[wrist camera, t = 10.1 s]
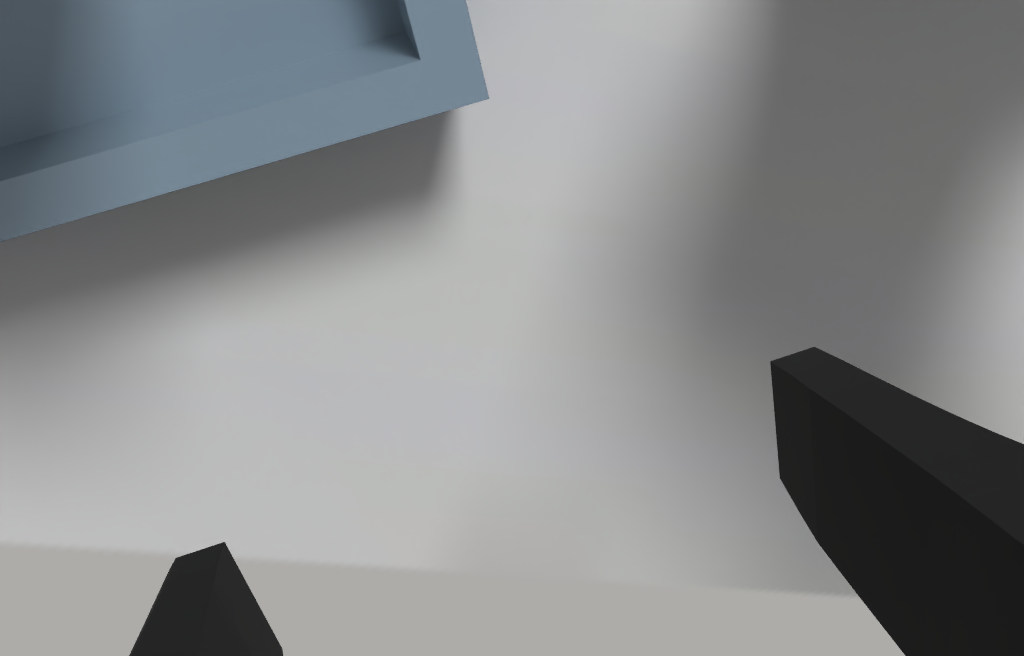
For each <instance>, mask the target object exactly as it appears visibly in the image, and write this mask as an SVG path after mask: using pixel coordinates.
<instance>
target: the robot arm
mask: <svg viewBox="0 0 1024 656" xmlns="http://www.w3.org/2000/svg"><path fill="white" fill-rule="evenodd" d="M770 363H771V375H772V387H773V399H774V411H775V423H776V435H777V447H778V459H779V472H780V479H781V481H782V482H783V484H784V486H785V488H786V489H787V491H788V493H789V495H790V496H791V498H792V500H793V502H794V503H795V505H796V507H797V509H798V510H799V512H800V514H801V516H802V517H803V519H804V520H805V522H806V524H807V525H808V527H809V529H810V530H811V532H812V534H813V535H814V537H815V539H816V540H817V542H818V543H819V545H820V546H821V547H822V549H823V550H824V551H825V553H826V554H827V555H828V557H829V558H830V559H831V560H832V562H833V563H834V564H835V566H836V567H837V568H838V570H839V571H840V572H841V573H842V575H843V576H844V577H845V579H846V580H847V581H848V583H849V584H850V585H851V586H852V588H853V589H854V590H855V592H856V593H857V594H858V596H859V597H860V598H861V599H862V600H863V602H864V603H865V604H866V606H867V607H868V608H869V610H870V611H871V612H872V613H873V615H874V616H875V617H876V619H877V620H878V621H879V622H880V624H881V625H882V626H883V627H884V629H885V630H886V631H887V632H888V634H889V635H890V636H891V637H892V639H893V640H894V642H895V643H896V644H897V645H898V647H899V648H900V649H901V650H902V652H903V653H904V654H905V655H906V656H1024V444H1022V443H1019V442H1017V441H1014V440H1012V439H1009V438H1007V437H1004V436H1002V435H999V434H997V433H995V432H992V431H990V430H988V429H985V428H983V427H981V426H979V425H976V424H974V423H972V422H969V421H967V420H965V419H963V418H960V417H958V416H956V415H954V414H952V413H949V412H947V411H945V410H943V409H941V408H939V407H937V406H934V405H932V404H930V403H928V402H926V401H924V400H922V399H920V398H918V397H916V396H913V395H911V394H909V393H907V392H905V391H903V390H901V389H899V388H897V387H895V386H893V385H891V384H889V383H887V382H885V381H883V380H881V379H879V378H877V377H875V376H873V375H871V374H869V373H867V372H865V371H863V370H861V369H859V368H857V367H855V366H853V365H851V364H849V363H847V362H845V361H843V360H841V359H839V358H837V357H835V356H832V355H830V354H828V353H826V352H824V351H822V350H820V349H818V348H815V347H813V348H810V349H807V350H804V351H801V352H797V353H794V354H791V355H788V356H785V357H782V358H779V359H776V360H773V361H770ZM129 656H283V651H282V647H281V646H280V644H279V642H278V640H277V638H276V637H275V634H274V633H273V631H272V629H271V627H270V625H269V624H268V622H267V620H266V618H265V616H264V614H263V612H262V611H261V609H260V607H259V605H258V603H257V602H256V599H255V598H254V596H253V594H252V592H251V590H250V588H249V586H248V585H247V583H246V581H245V579H244V577H243V575H242V574H241V572H240V570H239V568H238V566H237V564H236V562H235V561H234V559H233V557H232V555H231V553H230V551H229V549H228V548H227V546H226V544H225V542H223V543H220V544H217V545H214V546H211V547H208V548H205V549H202V550H199V551H196V552H193V553H190V554H187V555H184V556H181V557H178V558H176V559H175V561H174V563H173V564H172V566H171V568H170V570H169V572H168V574H167V576H166V578H165V580H164V582H163V585H162V587H161V589H160V591H159V593H158V596H157V598H156V600H155V602H154V604H153V606H152V609H151V611H150V613H149V615H148V617H147V619H146V621H145V624H144V626H143V628H142V630H141V632H140V634H139V636H138V638H137V641H136V643H135V645H134V647H133V649H132V651H131V653H130V655H129Z"/></svg>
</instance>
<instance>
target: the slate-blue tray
mask: <svg viewBox="0 0 1024 656" xmlns="http://www.w3.org/2000/svg"><path fill="white" fill-rule="evenodd" d="M486 99H489V96H488V92H487V88H486V84H485V79H484V75H483V71H482V67H481V63H480V58H479V54H478V50H477V46H476V42H475V37H474V33H473V29H472V25H471V21H470V16H469V12H468V8H467V4H466V0H0V242H2V241H5V240H9V239H12V238H15V237H19V236H22V235H26V234H29V233H32V232H36V231H39V230H43V229H46V228H50V227H53V226H56V225H60V224H63V223H67V222H70V221H73V220H77V219H80V218H84V217H87V216H90V215H94V214H97V213H101V212H104V211H108V210H111V209H114V208H118V207H121V206H125V205H128V204H131V203H135V202H138V201H142V200H145V199H148V198H152V197H155V196H159V195H162V194H166V193H169V192H172V191H176V190H179V189H183V188H186V187H189V186H193V185H196V184H200V183H203V182H206V181H210V180H213V179H217V178H220V177H224V176H227V175H230V174H234V173H237V172H241V171H244V170H247V169H251V168H254V167H258V166H261V165H264V164H268V163H271V162H275V161H278V160H282V159H285V158H288V157H292V156H295V155H299V154H302V153H305V152H309V151H312V150H316V149H319V148H323V147H326V146H329V145H333V144H336V143H340V142H343V141H346V140H350V139H353V138H357V137H360V136H363V135H367V134H370V133H374V132H377V131H381V130H384V129H387V128H391V127H394V126H398V125H401V124H404V123H408V122H411V121H415V120H418V119H421V118H425V117H428V116H432V115H435V114H439V113H442V112H445V111H449V110H452V109H456V108H459V107H462V106H466V105H469V104H473V103H476V102H479V101H483V100H486Z"/></svg>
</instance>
